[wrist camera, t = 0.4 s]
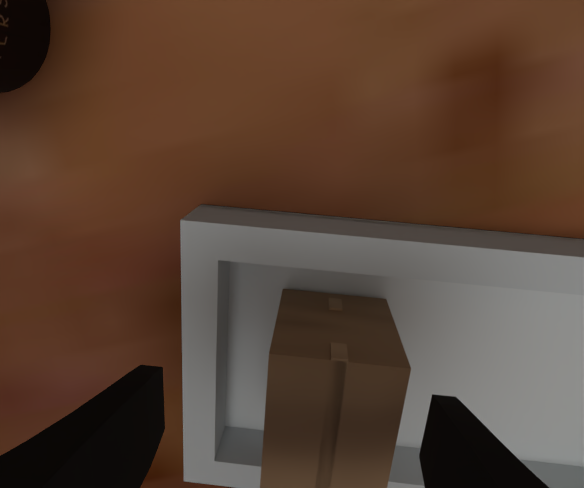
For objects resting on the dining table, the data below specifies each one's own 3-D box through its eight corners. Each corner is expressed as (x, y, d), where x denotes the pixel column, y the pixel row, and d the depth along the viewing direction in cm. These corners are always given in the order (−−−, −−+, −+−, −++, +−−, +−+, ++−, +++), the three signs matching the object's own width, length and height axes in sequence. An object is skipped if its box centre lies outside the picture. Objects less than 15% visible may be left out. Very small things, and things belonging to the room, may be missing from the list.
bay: (624, 485, 23) (668, 539, 20) (200, 437, 24) (183, 481, 21) (730, 252, 18) (806, 278, 15) (201, 204, 19) (180, 220, 16)
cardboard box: (366, 417, 21) (381, 516, 16) (273, 407, 21) (258, 502, 16) (386, 296, 19) (411, 366, 14) (282, 286, 19) (269, 351, 14)
